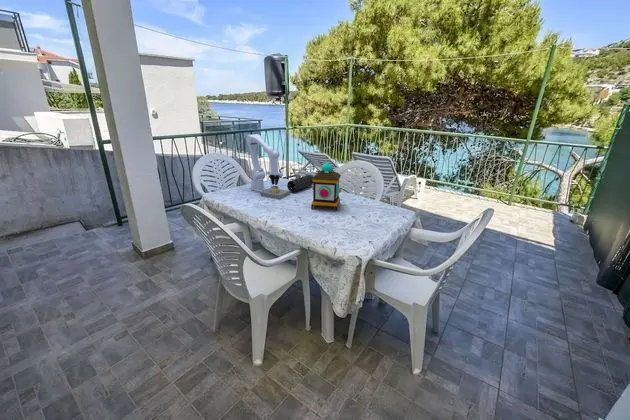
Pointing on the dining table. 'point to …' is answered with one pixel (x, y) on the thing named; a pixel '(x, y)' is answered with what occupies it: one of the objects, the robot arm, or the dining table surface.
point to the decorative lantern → (326, 188)
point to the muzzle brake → (300, 183)
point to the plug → (274, 189)
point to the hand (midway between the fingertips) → (274, 184)
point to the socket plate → (277, 195)
